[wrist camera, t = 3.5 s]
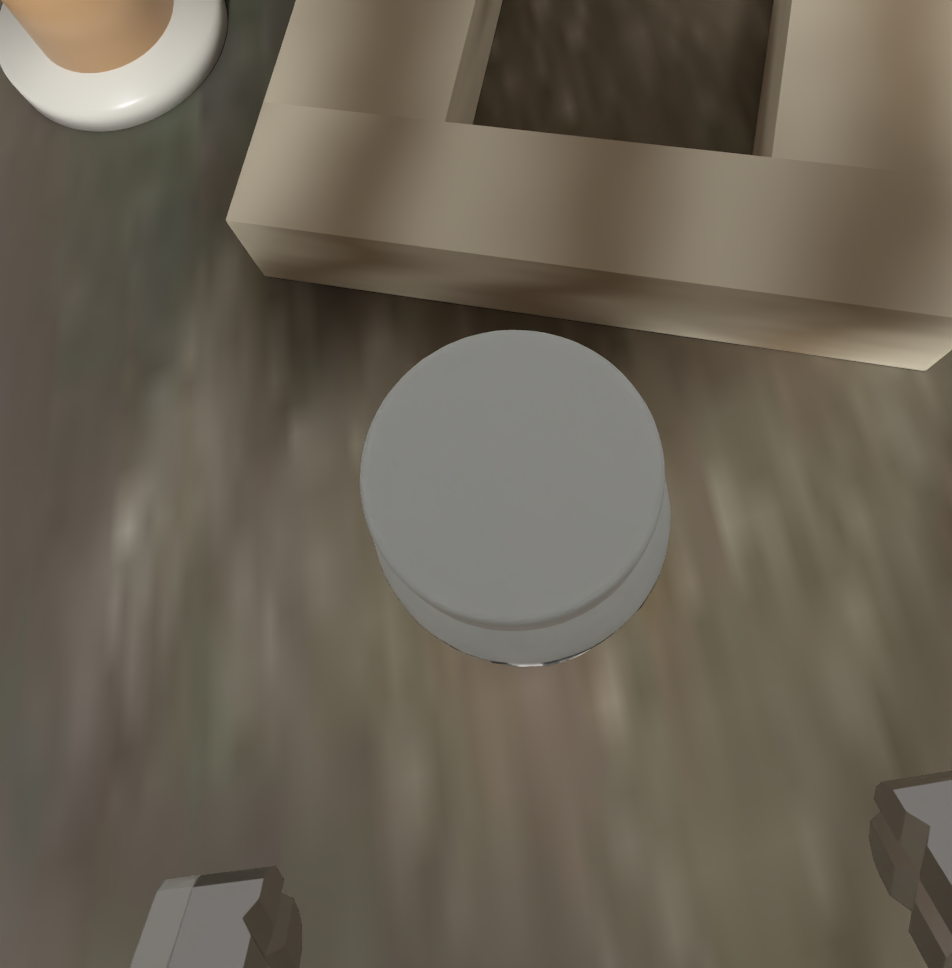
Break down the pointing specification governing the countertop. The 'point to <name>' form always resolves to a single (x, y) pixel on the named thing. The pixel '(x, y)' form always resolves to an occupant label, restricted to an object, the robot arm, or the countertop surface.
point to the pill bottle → (517, 496)
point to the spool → (109, 56)
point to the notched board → (620, 184)
